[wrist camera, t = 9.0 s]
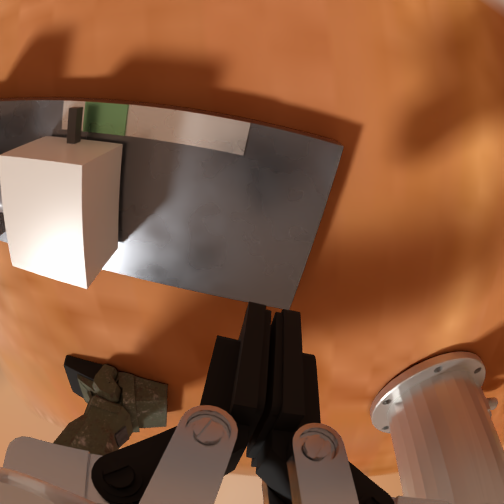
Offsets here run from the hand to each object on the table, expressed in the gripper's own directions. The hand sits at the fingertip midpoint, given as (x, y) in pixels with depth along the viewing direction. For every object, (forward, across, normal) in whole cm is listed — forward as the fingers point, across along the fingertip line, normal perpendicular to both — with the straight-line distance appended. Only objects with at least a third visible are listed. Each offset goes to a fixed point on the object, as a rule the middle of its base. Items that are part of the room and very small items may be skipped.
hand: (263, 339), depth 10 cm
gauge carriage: (+6, +12, -2) cm, 14 cm away
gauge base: (+8, +9, -1) cm, 13 cm away
